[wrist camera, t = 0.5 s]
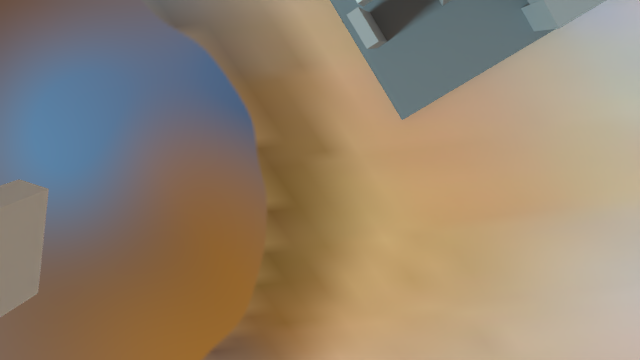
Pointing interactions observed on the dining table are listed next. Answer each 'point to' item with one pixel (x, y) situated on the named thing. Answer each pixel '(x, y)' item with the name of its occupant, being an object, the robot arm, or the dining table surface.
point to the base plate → (446, 39)
